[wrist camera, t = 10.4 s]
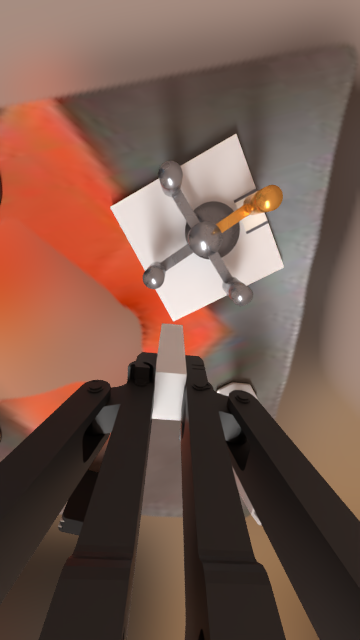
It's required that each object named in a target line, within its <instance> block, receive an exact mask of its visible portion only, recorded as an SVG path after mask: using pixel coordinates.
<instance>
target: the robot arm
mask: <svg viewBox="0 0 360 640" xmlns="http://www.w3.org/2000/svg"><path fill="white" fill-rule="evenodd" d="M1 195H2V190H1V181H0V203H1ZM181 415H182V421H181ZM152 419H166V420H180V421H181V428H180V436H179V440H181V463H182V499H183V535H184V571H185V607H186V626H185V640H286V638H285V635H284V631H283V627H282V624H281V620H280V616H279V613H278V609H277V605H276V602H275V598H274V594H273V591H272V587H271V584H270V581H269V578H268V575H267V572H266V570H265V569H264V567H263V565H262V564H260V563H258V562H257V561H256V559H255V557H254V554H253V550H252V546H251V542H250V537H249V534H248V529H247V525H246V521H245V517H244V513H243V509H242V505H241V501H240V497H239V493H238V488H237V484H236V480H235V476H234V472H233V469H234V471H235V473H236V475H237V477H238V479H239V481H240V483H241V485H242V487H243V489H244V491H245V493H246V495H247V497H248V499H249V501H250V502H251V504H252V506H253V508H254V510H255V512H256V514H257V516H258V518H259V520H260V522H261V524H262V526H263V528H264V530H265V532H266V534H267V536H268V538H269V540H270V542H271V544H272V546H273V548H274V550H275V552H276V554H277V556H278V558H279V560H280V562H281V564H282V566H283V567H284V570H285V572H286V574H287V576H288V578H289V580H290V582H291V584H292V586H293V588H294V590H295V592H296V594H297V596H298V598H299V600H300V602H301V603H302V606H303V608H304V610H305V611H306V613H307V615H308V617H309V619H310V621H311V623H312V625H313V627H314V629H315V631H316V633H317V635H318V637H319V639H320V640H360V521H359V520H358V519H357V518H356V517H355V515H354V514H353V513H352V512H351V511H350V509H349V508H348V507H347V506H346V505H345V503H344V502H343V501H342V500H341V499H340V498H339V496H338V495H337V494H336V493H335V492H334V490H333V489H332V488H331V487H330V486H329V484H328V483H327V482H326V481H325V480H324V478H323V477H322V476H321V475H320V474H319V473H318V471H317V470H316V469H315V468H314V467H313V465H312V464H311V463H310V462H309V461H308V460H307V458H306V457H305V456H304V455H303V454H302V452H301V451H300V450H299V449H298V448H297V446H296V445H295V444H294V443H293V442H292V440H291V439H290V438H289V437H288V436H287V435H286V433H285V432H284V431H283V430H282V429H281V427H280V426H279V425H278V424H277V423H276V421H275V420H274V419H273V418H272V417H271V416H270V414H269V413H268V412H267V411H266V410H265V408H264V407H263V406H262V405H261V404H260V402H259V401H258V400H257V399H256V398H255V397H254V396H253V395H252V394H250V393H248V392H246V391H243V390H233V391H231V392H230V393H229V396H226V395H223V394H220V393H217V392H215V391H214V390H213V387H212V385H211V384H210V383H209V382H208V380H207V376H206V371H205V367H204V362H203V360H202V359H201V358H200V357H199V356H188V355H185V348H184V337H183V325H174V324H163V323H162V326H161V334H160V341H159V348H158V354H157V353H145V352H142V353H141V354H139V355H138V356H137V360H136V361H134V362H132V363H130V364H129V366H128V381H127V384H125V385H122V386H119V387H113V388H111V387H110V384H109V383H108V382H106V381H103V380H92V381H89V382H86V383H85V384H83V385H82V386H81V387H80V388H79V389H78V390H77V391H76V392H74V393H73V394H72V395H71V396H70V397H69V398H68V399H67V400H66V401H65V402H64V403H63V404H62V405H61V406H60V407H59V408H58V409H56V410H55V411H54V412H53V413H52V414H51V415H50V416H49V417H48V418H47V419H46V420H45V421H44V422H43V423H42V424H41V425H40V426H38V427H37V428H36V429H35V430H34V431H33V432H32V433H31V434H30V435H29V436H28V437H27V438H26V439H25V440H24V441H23V442H22V443H20V444H19V445H18V446H17V447H16V448H15V449H14V450H13V451H12V452H11V453H10V454H9V455H8V456H7V457H6V458H5V459H4V460H2V461H1V462H0V604H1V603H2V601H3V600H4V598H5V597H6V595H7V594H8V592H9V590H10V589H11V587H12V586H13V584H14V583H15V581H16V580H17V578H18V577H19V575H20V573H21V572H22V570H23V569H24V567H25V566H26V564H27V562H28V561H29V560H30V558H31V556H32V555H33V553H34V552H35V550H36V549H37V547H38V546H39V544H40V542H41V541H42V539H43V538H44V536H45V535H46V533H47V532H48V530H49V529H50V527H51V525H52V524H53V522H54V520H55V519H56V518H57V516H58V515H59V513H60V512H61V510H62V508H63V507H64V505H65V504H66V502H67V501H68V499H69V498H70V496H71V495H72V493H73V491H74V490H75V488H76V487H77V485H78V484H79V482H80V481H81V479H82V477H83V476H84V474H85V473H86V471H87V470H88V468H89V467H90V465H91V464H92V462H93V460H94V459H95V457H96V456H97V454H98V453H99V451H100V450H101V448H102V447H103V445H104V443H105V442H106V440H107V439H108V437H109V435H110V433H111V435H110V439H109V442H108V445H107V448H106V451H105V455H104V458H103V461H102V464H101V467H100V471H99V474H98V477H97V480H96V483H95V487H94V490H93V493H92V496H91V500H90V503H89V506H88V509H87V512H86V516H85V519H84V522H83V525H82V528H81V532H80V535H79V538H78V541H77V544H76V547H75V550H74V552H73V554H72V556H70V557H69V558H68V559H67V561H66V563H65V565H64V567H63V569H62V572H61V575H60V577H59V580H58V583H57V586H56V590H55V592H54V595H53V598H52V601H51V604H50V607H49V610H48V613H47V617H46V619H45V622H44V626H43V628H42V632H41V635H40V638H39V640H127V633H128V623H129V613H130V605H131V596H132V588H133V578H134V571H135V562H136V553H137V545H138V536H139V528H140V519H141V510H142V502H143V493H144V485H145V476H146V467H147V459H148V450H149V441H150V433H151V423H152ZM232 467H233V468H232Z"/></svg>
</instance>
